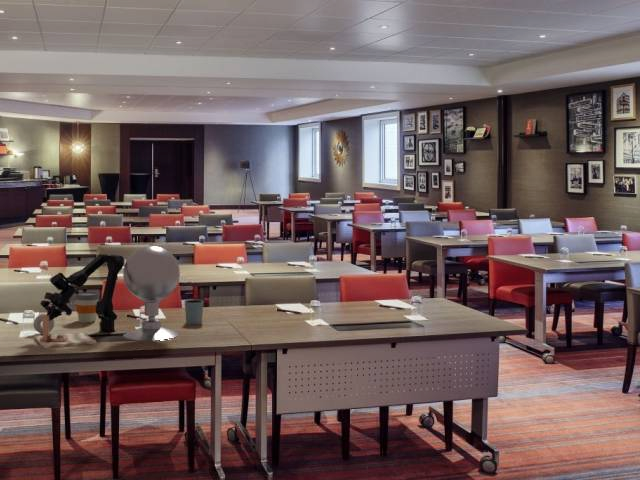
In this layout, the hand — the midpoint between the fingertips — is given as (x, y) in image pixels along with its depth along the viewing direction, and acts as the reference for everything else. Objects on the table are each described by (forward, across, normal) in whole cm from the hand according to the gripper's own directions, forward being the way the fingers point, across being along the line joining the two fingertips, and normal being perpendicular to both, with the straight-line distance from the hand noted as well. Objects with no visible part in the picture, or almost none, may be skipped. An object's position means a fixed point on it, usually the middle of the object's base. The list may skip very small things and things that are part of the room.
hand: (45, 321), depth 403 cm
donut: (0, -17, +15) cm, 23 cm away
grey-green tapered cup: (-50, +16, +66) cm, 84 cm away
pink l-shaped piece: (+5, +4, +7) cm, 9 cm away
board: (+2, +5, +12) cm, 13 cm away
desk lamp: (-24, +23, +40) cm, 52 cm away
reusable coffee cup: (-24, -29, +39) cm, 54 cm away
